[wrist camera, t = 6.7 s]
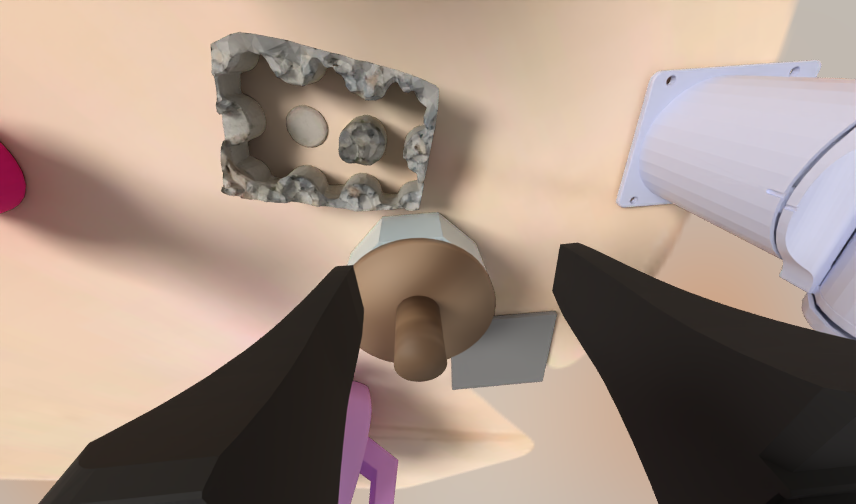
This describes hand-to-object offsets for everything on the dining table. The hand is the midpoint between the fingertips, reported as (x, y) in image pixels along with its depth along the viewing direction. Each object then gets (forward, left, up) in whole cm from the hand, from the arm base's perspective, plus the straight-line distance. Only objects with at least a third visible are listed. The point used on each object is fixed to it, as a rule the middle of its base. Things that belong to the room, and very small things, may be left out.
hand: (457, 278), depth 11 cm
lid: (+2, +7, -7) cm, 10 cm away
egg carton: (+5, -4, -11) cm, 13 cm away
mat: (-5, +17, -10) cm, 20 cm away
